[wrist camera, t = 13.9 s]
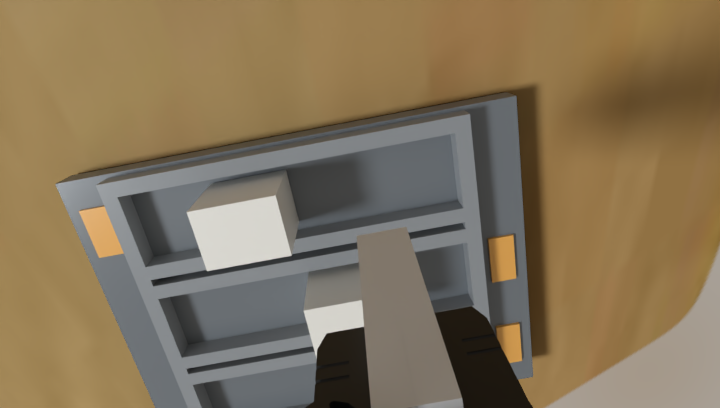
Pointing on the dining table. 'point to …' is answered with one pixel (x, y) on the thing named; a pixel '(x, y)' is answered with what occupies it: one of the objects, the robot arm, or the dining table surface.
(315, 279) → the tab
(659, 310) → the dining table surface
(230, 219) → the tab
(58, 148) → the dining table surface
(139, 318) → the switch board
